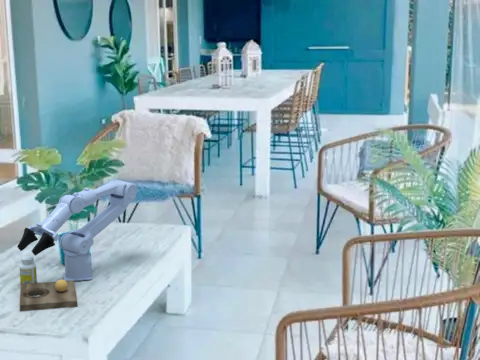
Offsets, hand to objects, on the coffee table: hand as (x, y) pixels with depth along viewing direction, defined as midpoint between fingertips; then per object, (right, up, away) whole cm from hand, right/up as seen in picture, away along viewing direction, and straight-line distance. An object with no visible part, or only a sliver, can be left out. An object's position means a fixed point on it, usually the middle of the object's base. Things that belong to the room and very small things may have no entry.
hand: (26, 251), depth 215 cm
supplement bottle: (-3, -13, +11) cm, 18 cm away
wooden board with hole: (+7, -16, +1) cm, 17 cm away
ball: (+11, -12, +2) cm, 16 cm away
